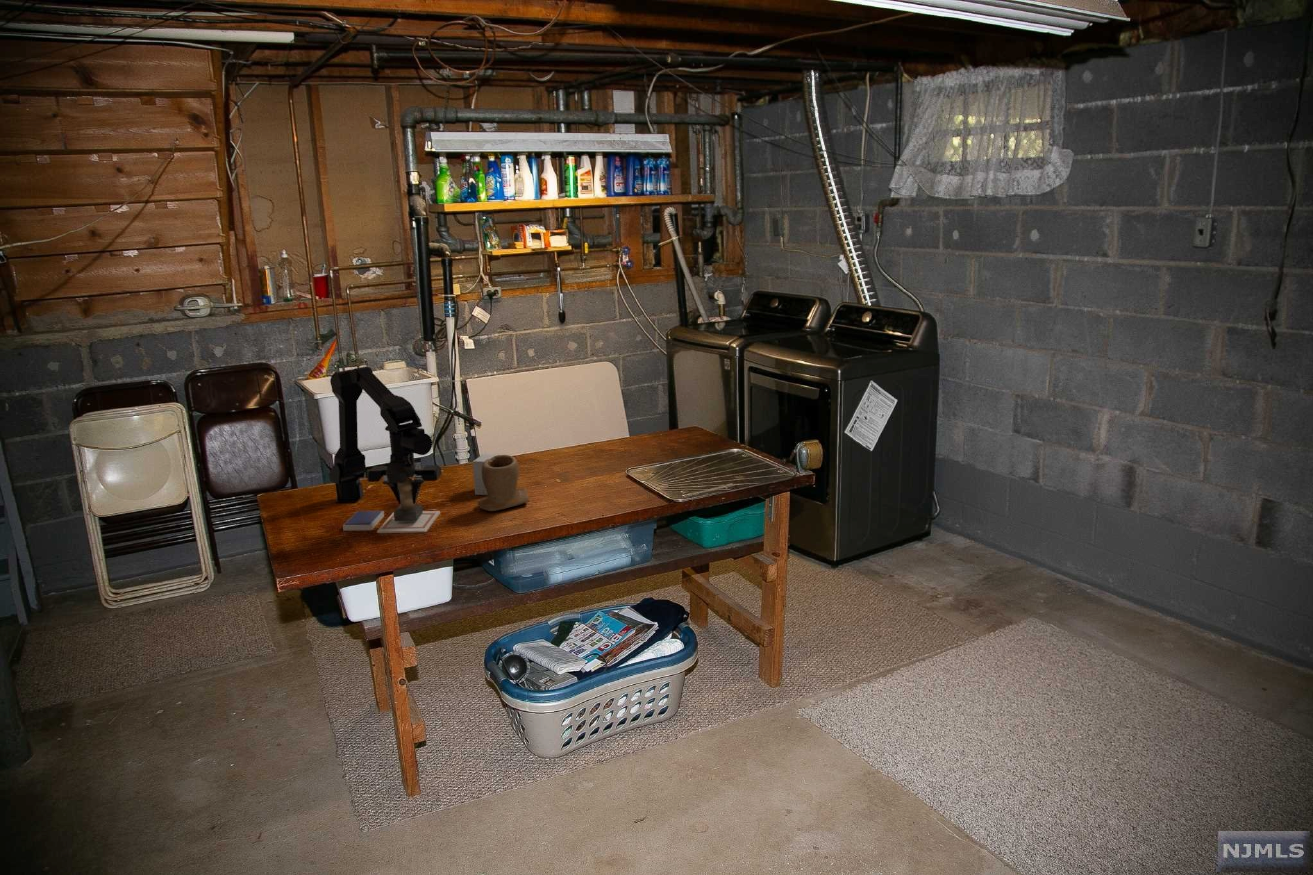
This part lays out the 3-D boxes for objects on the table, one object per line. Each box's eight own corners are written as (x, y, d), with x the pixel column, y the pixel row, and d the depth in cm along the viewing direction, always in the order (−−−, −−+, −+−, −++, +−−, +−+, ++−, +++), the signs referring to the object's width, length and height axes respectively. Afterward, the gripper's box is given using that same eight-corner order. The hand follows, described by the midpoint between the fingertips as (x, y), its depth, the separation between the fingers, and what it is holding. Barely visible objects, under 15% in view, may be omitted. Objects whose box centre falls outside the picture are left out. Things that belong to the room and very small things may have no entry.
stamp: (394, 521, 245) (390, 480, 242) (401, 513, 250) (397, 473, 247) (416, 520, 245) (412, 480, 241) (422, 513, 250) (418, 473, 247)
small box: (492, 495, 268) (489, 461, 265) (474, 495, 269) (471, 461, 267) (502, 487, 276) (499, 454, 273) (484, 486, 277) (482, 453, 274)
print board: (377, 532, 241) (376, 530, 241) (394, 513, 255) (393, 511, 255) (425, 532, 241) (425, 530, 240) (440, 512, 255) (439, 510, 255)
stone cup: (490, 518, 250) (486, 466, 246) (473, 506, 260) (469, 456, 256) (539, 506, 258) (536, 456, 254) (522, 495, 268) (518, 447, 264)
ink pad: (343, 530, 243) (342, 524, 243) (357, 516, 254) (356, 510, 253) (371, 530, 243) (370, 524, 242) (384, 515, 253) (383, 510, 253)
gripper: (357, 457, 235) (363, 514, 239) (428, 456, 234) (433, 513, 238) (371, 445, 246) (377, 500, 250) (439, 444, 245) (444, 499, 249)
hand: (407, 503), depth 246 cm, fingers closed on stamp, 3 cm apart
